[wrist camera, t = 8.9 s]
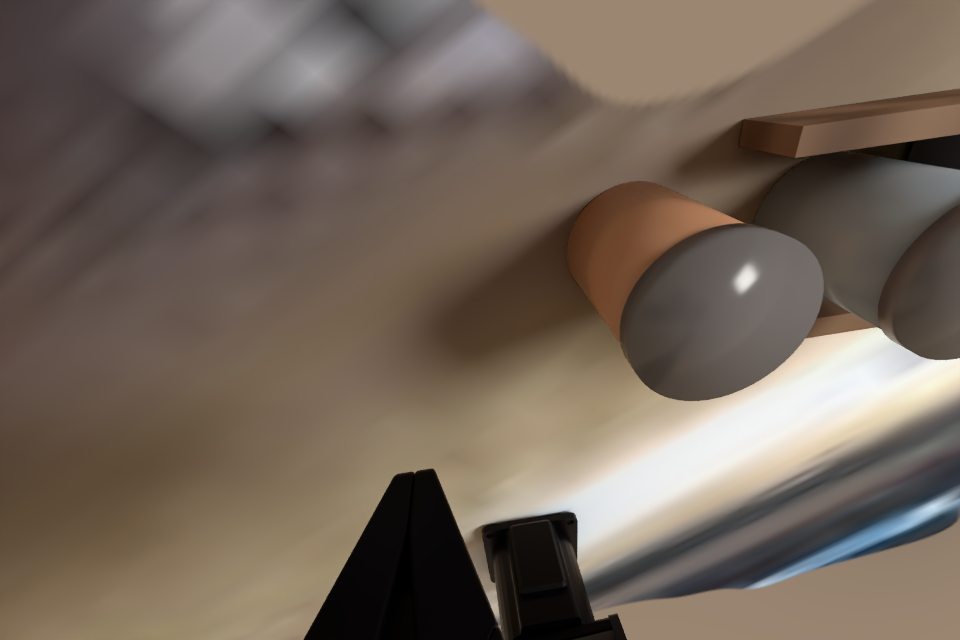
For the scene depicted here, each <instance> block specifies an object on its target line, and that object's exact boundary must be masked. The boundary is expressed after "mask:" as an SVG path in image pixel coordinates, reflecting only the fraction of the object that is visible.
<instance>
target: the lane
mask: <svg viewBox="0 0 960 640" xmlns="http://www.w3.org/2000/svg"><path fill="white" fill-rule="evenodd" d="M957 134H960V89H954V90H947V91H940V92H933V93H926V94H919V95H912V96H905V97H898V98H891V99H884V100H877V101H870V102H863V103H856V104H848V105H841V106H834V107H827V108H820V109H813V110H806V111H799V112H792V113H785V114H778V115H771V116H764V117H757V118H750V119H744V122H743V127H742V132H741V138H740V143H739V146H740V147H744V148H749V149H754V150H759V151H764V152H769V153H773V154H778V155H783V156H788V157H793V158H798V157H805V156H812V155H819V154H826V153H833V152H840V151H847V150H854V149H861V148H868V147H874V146H881V145H888V144H895V143H902V142H909V141H916V140H923V139H930V138H937V137H944V136H950V135H957ZM874 327H876V326H874V325H873V324H871V323H869V322H867V321H865V320H863V319H862V318H860V317H858V316H856V315H854V314H852V313H851V312H849V311H847V310H845V309H843V308H842V307H840V306H838V305H836V304H834V303H832V302H831V301H829V300H827V299H825V298H823V299H822V303H821V307H820V310H819V313H818V316H817V318H816V320H815V323H814V324H813V326H812V328H811V330H810V331H809V333H808V335H807V336H806V338H810V337H817V336H823V335H829V334H836V333H842V332H848V331H855V330H861V329H868V328H874Z"/></svg>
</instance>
